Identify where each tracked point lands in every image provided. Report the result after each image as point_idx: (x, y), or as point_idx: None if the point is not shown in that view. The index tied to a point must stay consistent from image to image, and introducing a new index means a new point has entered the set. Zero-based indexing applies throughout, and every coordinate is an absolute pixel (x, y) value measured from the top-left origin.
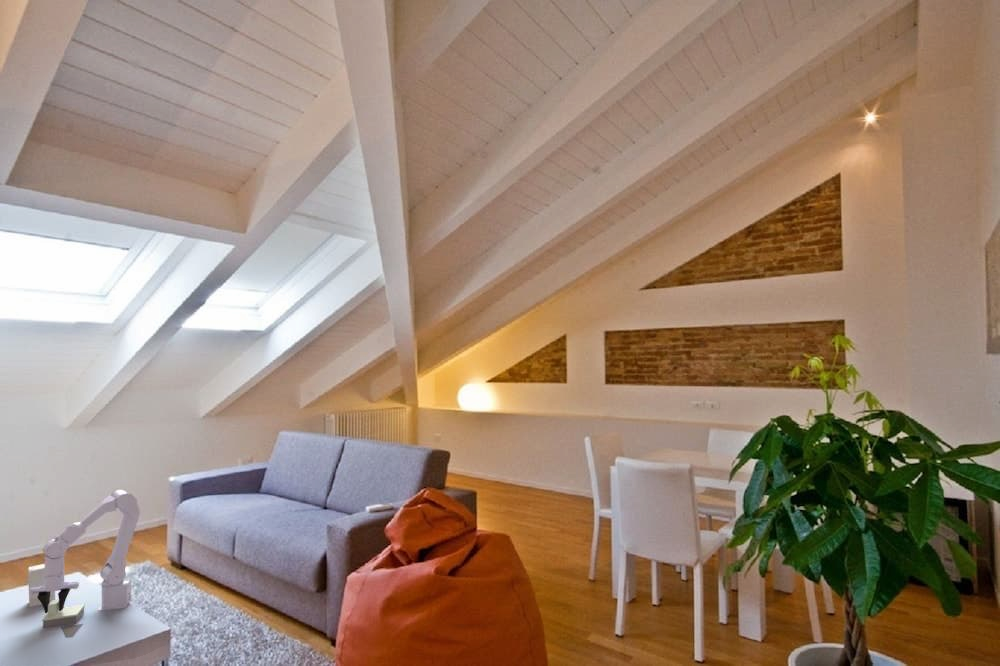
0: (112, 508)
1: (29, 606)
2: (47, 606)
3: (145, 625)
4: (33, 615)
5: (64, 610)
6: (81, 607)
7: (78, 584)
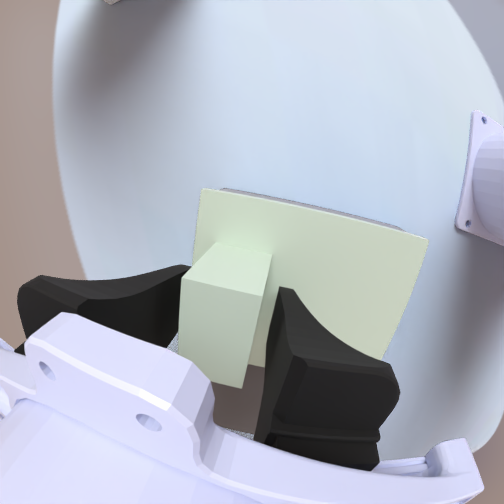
0: None
1: (104, 1)
2: (172, 320)
3: (487, 421)
4: (125, 83)
5: (302, 281)
6: (406, 289)
7: (464, 472)
